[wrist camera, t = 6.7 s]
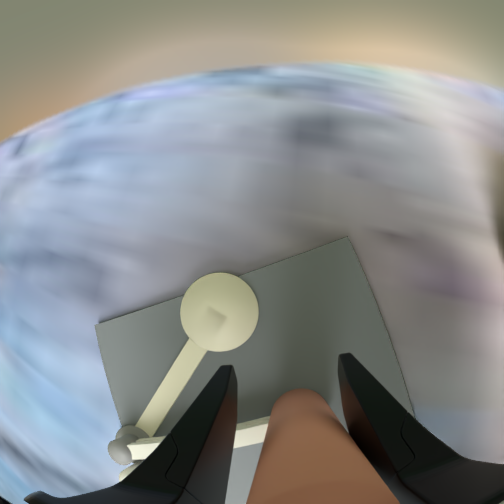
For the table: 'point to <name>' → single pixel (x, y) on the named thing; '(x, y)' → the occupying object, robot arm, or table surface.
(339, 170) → the table surface
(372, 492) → the brown cylinder with stick
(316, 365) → the board
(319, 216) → the table surface
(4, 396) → the table surface
